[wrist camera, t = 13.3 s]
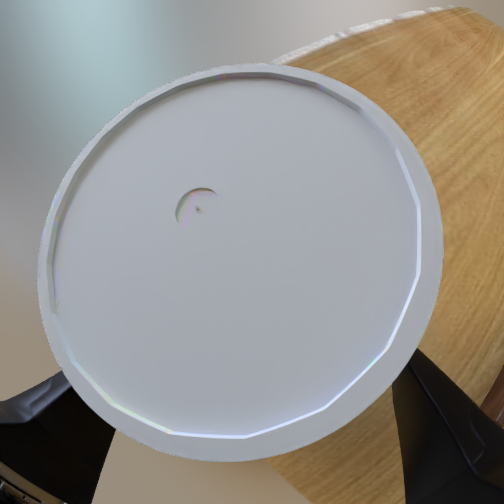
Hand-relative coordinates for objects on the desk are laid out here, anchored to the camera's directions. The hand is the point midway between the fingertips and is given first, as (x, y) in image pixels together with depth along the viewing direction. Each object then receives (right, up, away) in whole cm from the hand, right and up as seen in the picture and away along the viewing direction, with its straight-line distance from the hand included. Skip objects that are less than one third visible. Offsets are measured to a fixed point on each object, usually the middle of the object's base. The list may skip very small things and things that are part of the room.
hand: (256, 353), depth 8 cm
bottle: (+2, -1, +9) cm, 9 cm away
